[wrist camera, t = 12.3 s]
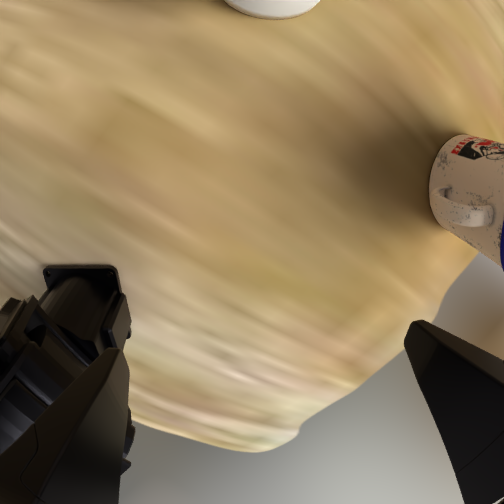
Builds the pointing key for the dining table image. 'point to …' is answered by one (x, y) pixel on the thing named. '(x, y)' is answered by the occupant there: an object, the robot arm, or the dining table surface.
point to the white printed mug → (471, 193)
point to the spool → (273, 8)
